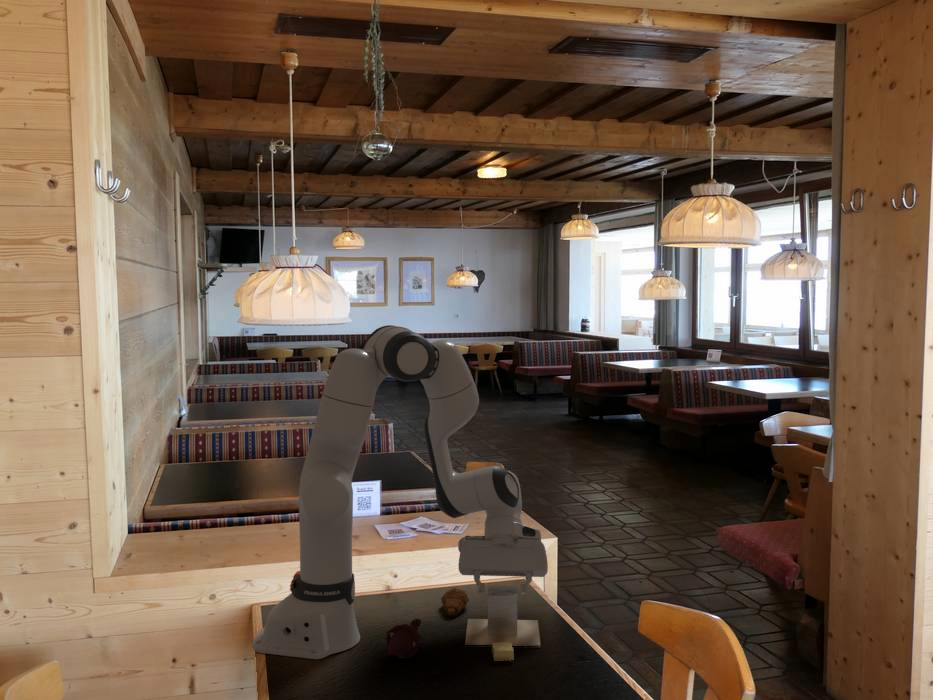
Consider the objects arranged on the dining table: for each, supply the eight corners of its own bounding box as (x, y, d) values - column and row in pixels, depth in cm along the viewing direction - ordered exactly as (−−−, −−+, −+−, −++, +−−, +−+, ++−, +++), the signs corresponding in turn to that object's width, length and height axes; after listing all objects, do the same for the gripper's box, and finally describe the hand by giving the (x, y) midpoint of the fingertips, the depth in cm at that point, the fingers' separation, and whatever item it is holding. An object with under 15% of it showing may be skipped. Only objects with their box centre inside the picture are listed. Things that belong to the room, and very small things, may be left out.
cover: (487, 636, 173) (487, 595, 172) (488, 624, 179) (488, 585, 179) (517, 636, 173) (517, 596, 172) (516, 624, 179) (516, 585, 178)
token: (494, 663, 162) (494, 651, 162) (491, 654, 166) (491, 642, 166) (513, 662, 162) (513, 650, 162) (510, 653, 166) (511, 642, 166)
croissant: (465, 620, 183) (465, 599, 183) (436, 618, 184) (436, 597, 184) (472, 598, 197) (472, 579, 196) (445, 597, 198) (445, 577, 197)
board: (465, 645, 169) (465, 643, 169) (467, 621, 182) (467, 618, 182) (540, 647, 169) (540, 644, 169) (537, 622, 182) (537, 620, 182)
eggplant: (409, 644, 155) (436, 621, 170) (376, 629, 158) (405, 608, 172) (400, 677, 156) (428, 652, 170) (367, 662, 158) (397, 639, 172)
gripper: (458, 528, 183) (455, 585, 174) (547, 530, 182) (548, 587, 173) (459, 542, 188) (456, 597, 179) (545, 543, 187) (547, 600, 178)
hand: (502, 592), depth 176 cm, fingers open, 8 cm apart
